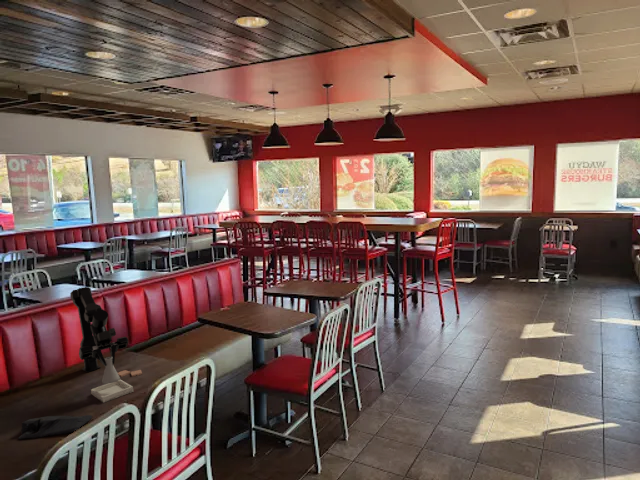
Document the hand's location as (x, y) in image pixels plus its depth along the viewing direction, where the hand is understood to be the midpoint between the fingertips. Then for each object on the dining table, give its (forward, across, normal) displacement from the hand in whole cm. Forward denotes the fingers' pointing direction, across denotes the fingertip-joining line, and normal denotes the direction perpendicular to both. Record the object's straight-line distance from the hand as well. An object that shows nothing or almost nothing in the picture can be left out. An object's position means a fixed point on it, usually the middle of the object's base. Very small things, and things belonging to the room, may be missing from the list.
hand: (109, 364), depth 198 cm
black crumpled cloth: (+20, -24, -1) cm, 31 cm away
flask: (+5, 0, +6) cm, 8 cm away
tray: (+8, 0, +10) cm, 13 cm away
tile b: (-1, +14, +20) cm, 25 cm away
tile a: (-4, +10, +24) cm, 26 cm away
